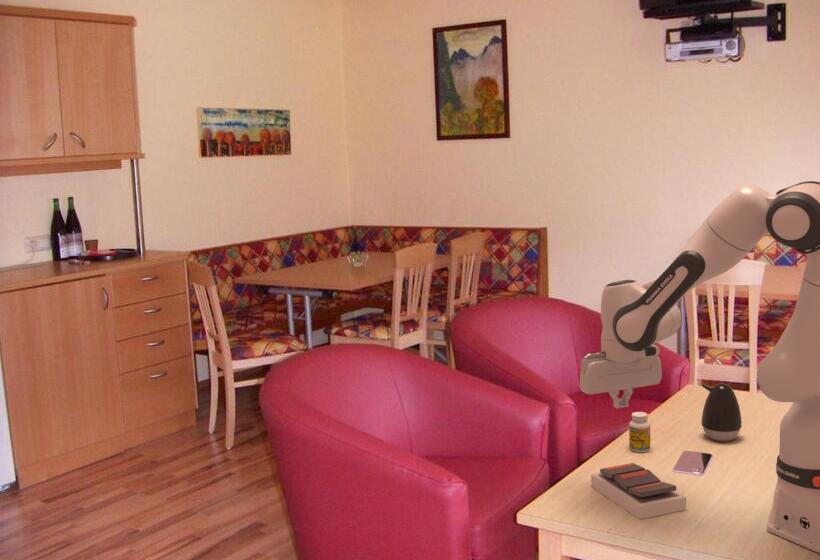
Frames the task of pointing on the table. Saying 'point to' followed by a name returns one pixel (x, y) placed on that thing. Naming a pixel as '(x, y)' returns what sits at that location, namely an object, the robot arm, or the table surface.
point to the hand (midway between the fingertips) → (620, 407)
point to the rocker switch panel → (639, 498)
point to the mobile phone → (693, 463)
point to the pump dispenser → (721, 413)
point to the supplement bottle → (639, 432)
